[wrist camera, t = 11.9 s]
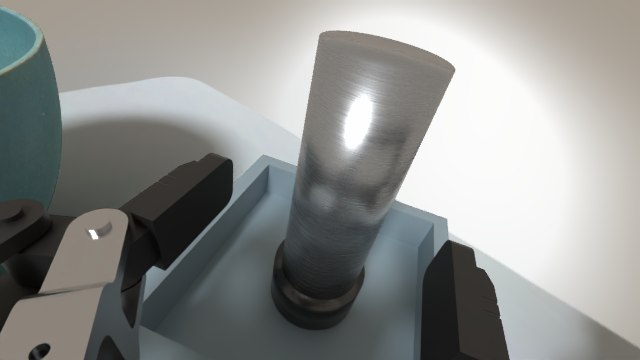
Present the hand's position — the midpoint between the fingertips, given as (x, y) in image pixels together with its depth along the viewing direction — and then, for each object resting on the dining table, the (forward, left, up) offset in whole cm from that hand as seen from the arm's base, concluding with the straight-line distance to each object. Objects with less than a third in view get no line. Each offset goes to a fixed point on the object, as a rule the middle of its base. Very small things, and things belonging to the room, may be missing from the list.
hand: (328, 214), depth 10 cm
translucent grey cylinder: (0, -3, -9) cm, 9 cm away
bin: (0, -3, -10) cm, 10 cm away
